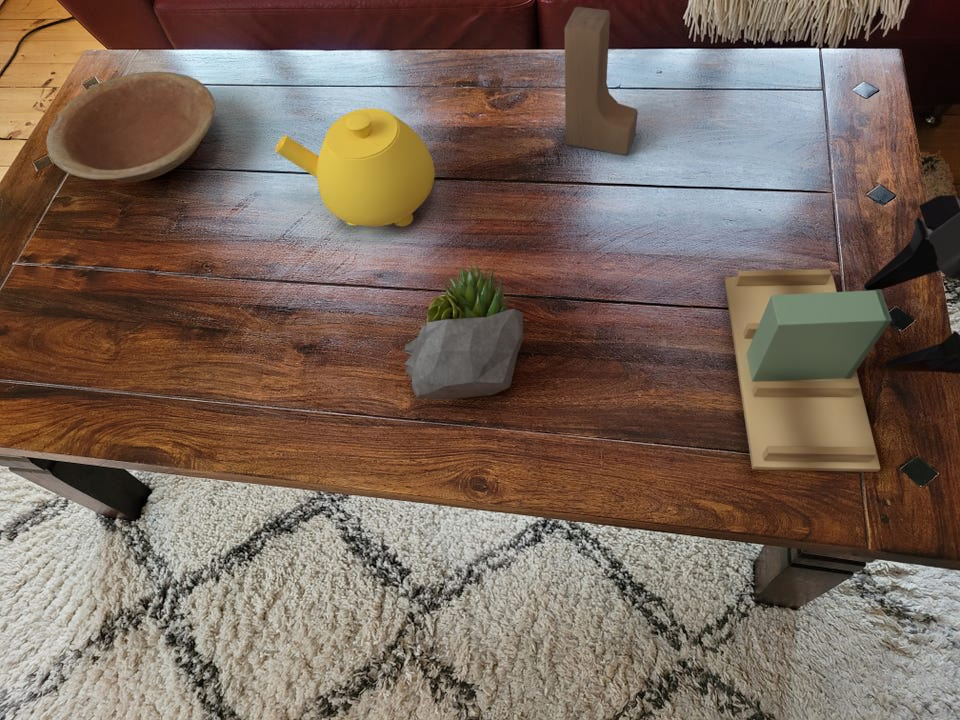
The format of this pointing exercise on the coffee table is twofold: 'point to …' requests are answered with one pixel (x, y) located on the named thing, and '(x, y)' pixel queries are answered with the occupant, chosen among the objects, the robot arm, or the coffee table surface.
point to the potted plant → (466, 341)
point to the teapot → (368, 168)
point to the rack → (796, 390)
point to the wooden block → (593, 87)
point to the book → (816, 335)
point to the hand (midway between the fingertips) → (875, 326)
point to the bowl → (131, 127)
